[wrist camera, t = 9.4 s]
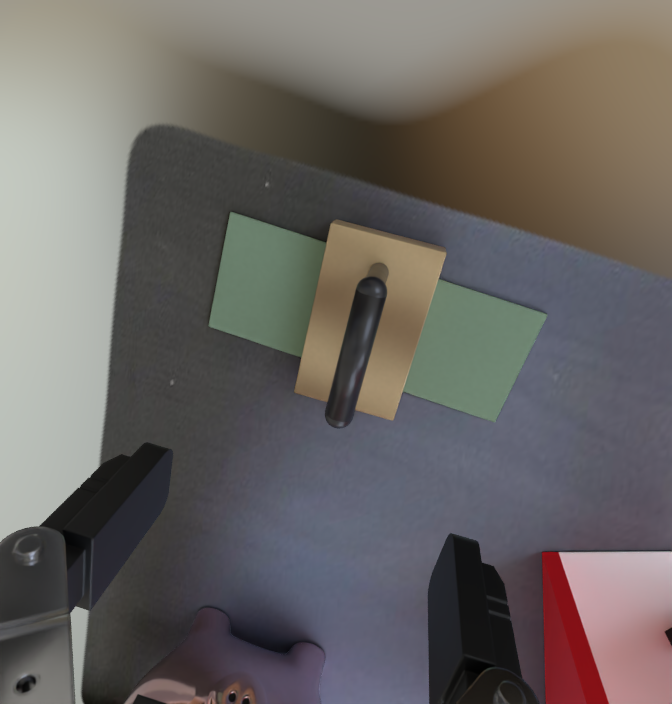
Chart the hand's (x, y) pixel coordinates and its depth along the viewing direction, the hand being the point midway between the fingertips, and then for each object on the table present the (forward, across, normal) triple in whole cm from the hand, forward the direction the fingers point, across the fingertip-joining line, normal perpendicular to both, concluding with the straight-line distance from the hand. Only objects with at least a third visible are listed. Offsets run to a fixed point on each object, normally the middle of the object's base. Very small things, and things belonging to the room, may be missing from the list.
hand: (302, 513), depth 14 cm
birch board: (+16, 0, 0) cm, 16 cm away
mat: (+16, 0, 0) cm, 16 cm away
